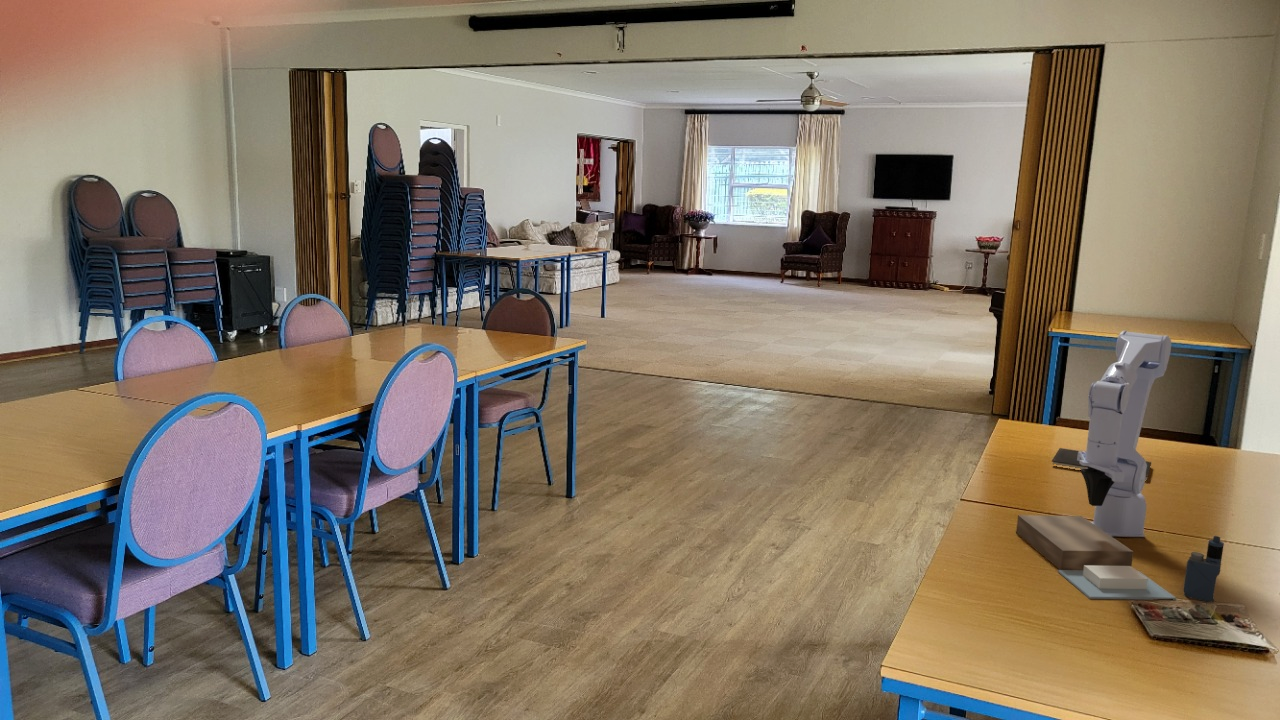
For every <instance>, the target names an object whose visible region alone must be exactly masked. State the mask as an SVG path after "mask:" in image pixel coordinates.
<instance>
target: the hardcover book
mask: <svg viewBox="0 0 1280 720" xmlns="http://www.w3.org/2000/svg"><path fill="white" fill-rule="evenodd" d="M1078 451H1079V450H1077V449H1070V448H1063V447H1060V448H1058V450H1057V452H1056V453H1055V455H1054V457H1053V458H1052V459H1051V462H1052V465H1053V464H1056V465H1062V466H1069V467H1075V468H1080V469H1088V467H1089V466H1083V465H1081V464H1080V461H1078V460H1077V457H1078ZM1145 461H1146V464H1147V468H1146V477H1145V480H1147V481H1148V477H1149V474H1150V469H1151V468H1150V466H1151V467H1152V461H1148V460H1145Z"/></svg>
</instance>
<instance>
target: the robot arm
mask: <svg viewBox="0 0 1280 720" xmlns="http://www.w3.org/2000/svg"><path fill="white" fill-rule="evenodd" d="M1171 350H1172V339H1171V338H1170V336H1169V335H1167V334H1166V335H1161V334H1153V333H1151V334H1150V333H1144V332H1143V333H1141V332H1135V331H1134V332H1133V331H1127V330H1122V331H1121V332H1120V333H1119V334H1118V336H1117V340H1116V344H1115V355H1116V361H1117V362H1113V363H1111V364H1110V365H1109V366H1107V367H1108V368H1107V369H1106V371H1105V372H1104V374H1103V375H1102V376H1101V379H1100V380H1097V381H1096V382H1092V383H1091V385H1090V388H1089V391H1088V397H1087V405H1088V411H1087V412H1088V417H1089V424H1088V433H1087V441H1086V450H1083V451H1082V450H1077V451H1078V457H1077V460H1078V461H1080V464H1081V465H1083V466H1089V467H1088V469H1081V471H1080V473H1081V474H1082V477H1083V479H1084V480H1083V481H1084V482H1085V483H1084V484H1085V487H1086V492H1087V499H1088V504H1089V505H1091V506H1092V507H1093V506H1094V514H1093V521H1090V522H1091V523H1093V524H1094V525H1096V526H1097V527H1098V528H1100V529H1101V530H1103V531H1104V532H1106V533H1107V534H1109V535H1110V536H1112V537H1113V538H1114V537H1119V538H1120V537H1125V538H1126V537H1127V538H1128V537H1130V538H1145V537H1146V534H1145V533H1144V530H1145V523H1146V522H1145V521H1146V515H1147V501H1146V498H1145V496H1144V495H1143V494H1142V492H1143V489H1144V487H1145V484H1146V482H1145V477H1146V468H1147V464H1146V461H1147V460H1146V459H1145V457H1144V456H1142V455H1141V454H1140V453H1139V452H1138V451H1137V448H1138V447H1137V446H1138V443H1139V438H1140V435H1141V434H1140V433H1141V431H1142V426H1143V422H1144V419H1145V414H1146V409H1147V405H1148V401H1149V397H1150V394H1151V393H1150V392H1151V389H1152V387H1153V384H1154V382H1155V380H1156V379H1158V378H1161V377H1164V375H1165V372H1166V371H1167V368H1168V364H1169V360H1170V356H1171Z"/></svg>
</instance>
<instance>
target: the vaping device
mask: <svg viewBox="0 0 1280 720" xmlns="http://www.w3.org/2000/svg"><path fill="white" fill-rule="evenodd" d="M1224 545H1225V544H1224V541H1221V537H1220V536H1218V535H1214V536H1213V538H1212V539H1209V540H1208V543H1207V549H1206V555H1204V554H1203V553H1202V552H1201V553H1200V552H1197V551H1192V552H1190V556H1189V557H1188V559H1187V563H1186V568H1185V576H1184V580H1183V589H1182V592H1183V593H1184V596H1185V597H1187V598H1190V599H1194V600H1198V601H1204V602H1209V603H1213V602H1215V600H1214V595H1215V589H1216V583H1217V578H1218V576H1219V575H1220V574H1221V568H1222V559H1223V558H1222V557H1223V552H1224ZM1204 557H1205V558H1204Z"/></svg>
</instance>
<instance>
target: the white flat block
mask: <svg viewBox="0 0 1280 720" xmlns="http://www.w3.org/2000/svg"><path fill="white" fill-rule="evenodd" d="M1138 571H1139V570H1137V569H1135V568H1134V567H1133V566H1095V565H1084V570H1083V576H1084V577H1086V578H1087V579H1088V580H1089V581H1091V582H1092V583H1093V584H1094V585H1095V586H1097V587H1098V588H1104V589H1147V582H1148V578H1149V577H1148V578H1146V577H1145V576H1146V575H1145V576H1143V575H1142V574H1143V573H1142V572H1141V573H1142V574H1141V573H1139V572H1138Z"/></svg>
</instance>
